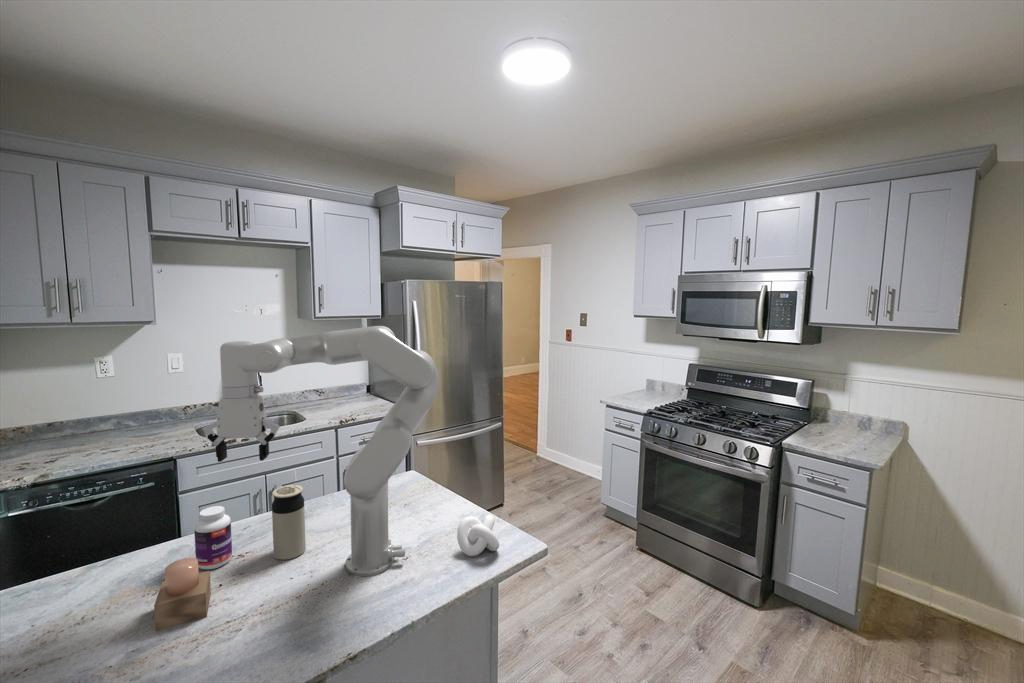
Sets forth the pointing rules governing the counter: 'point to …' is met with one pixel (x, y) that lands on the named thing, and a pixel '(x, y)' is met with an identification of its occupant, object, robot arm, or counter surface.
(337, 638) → the counter surface
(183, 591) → the peach rounded cylinder
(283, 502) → the travel mug
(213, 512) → the pill bottle
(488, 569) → the counter surface
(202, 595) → the walnut box
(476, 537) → the white knot sculpture
